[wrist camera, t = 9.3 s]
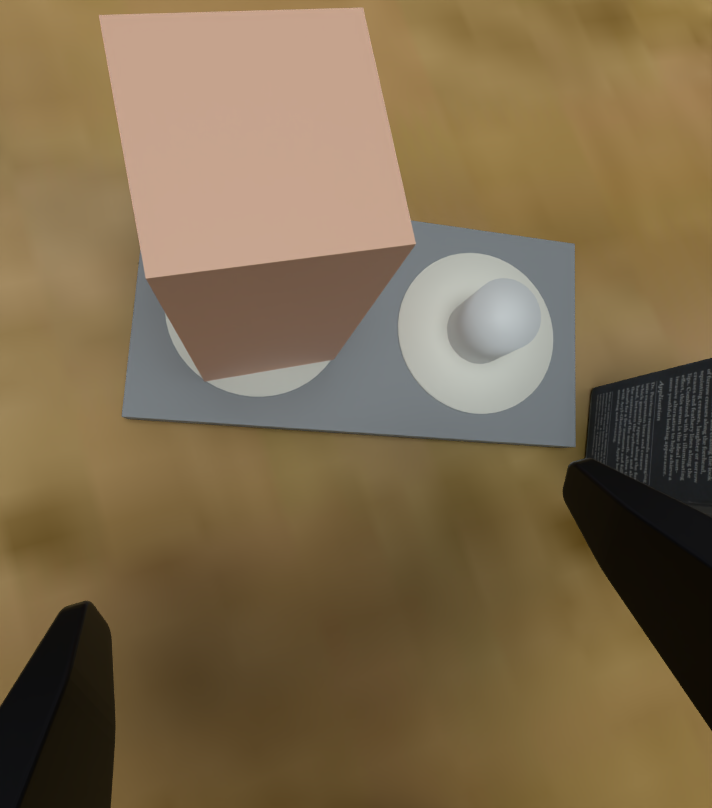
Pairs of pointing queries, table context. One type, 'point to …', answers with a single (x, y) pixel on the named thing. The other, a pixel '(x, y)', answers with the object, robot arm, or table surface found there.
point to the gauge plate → (402, 354)
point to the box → (658, 431)
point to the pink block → (258, 178)
